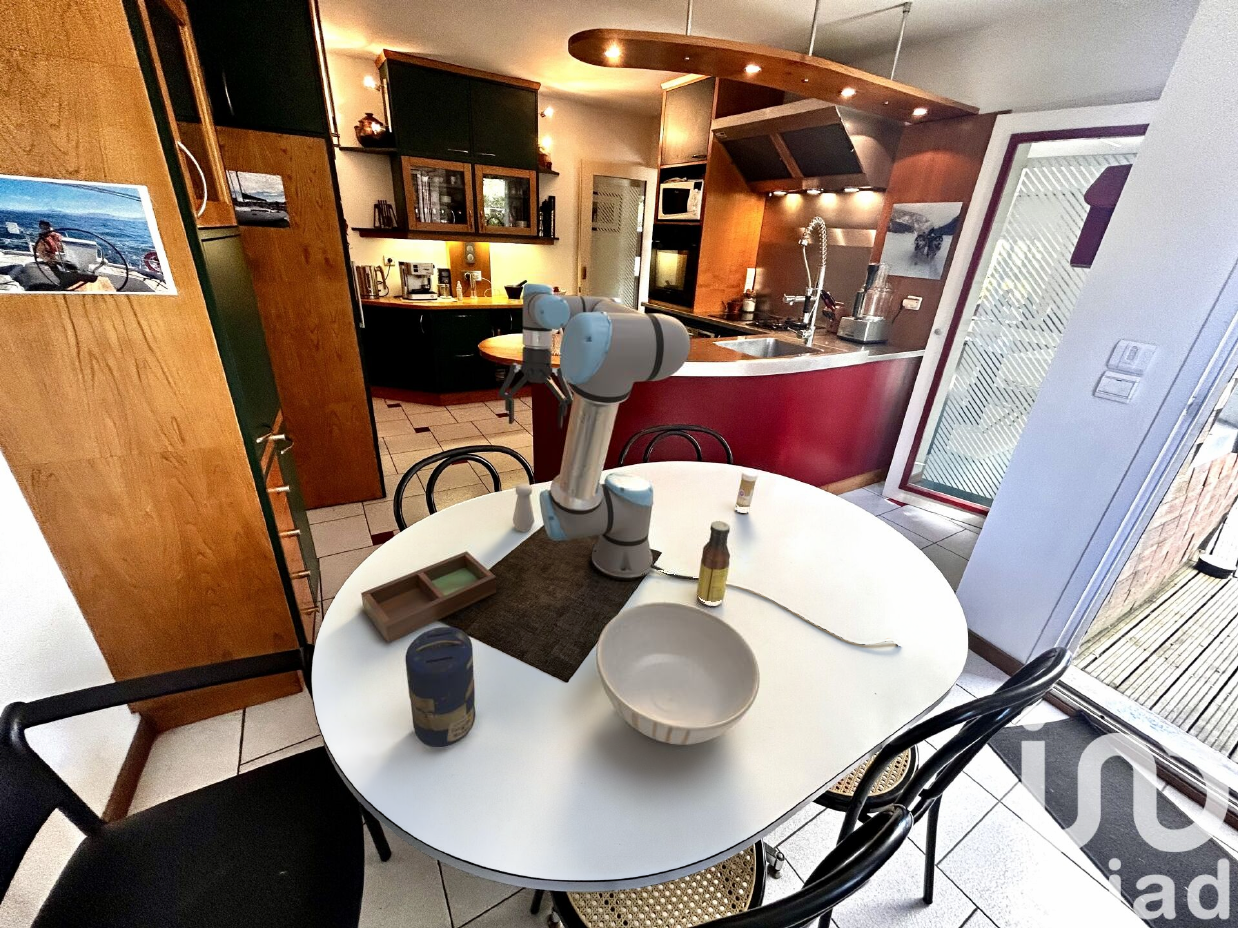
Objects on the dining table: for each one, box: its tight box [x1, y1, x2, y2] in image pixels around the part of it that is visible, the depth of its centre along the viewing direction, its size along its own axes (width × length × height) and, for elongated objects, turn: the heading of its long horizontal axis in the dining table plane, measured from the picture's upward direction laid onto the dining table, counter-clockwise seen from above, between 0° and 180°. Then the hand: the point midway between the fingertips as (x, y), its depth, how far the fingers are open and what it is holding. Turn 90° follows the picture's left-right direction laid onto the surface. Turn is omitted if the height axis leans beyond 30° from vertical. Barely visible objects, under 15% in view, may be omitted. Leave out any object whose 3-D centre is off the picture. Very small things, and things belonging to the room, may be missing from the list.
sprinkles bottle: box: [735, 469, 758, 508], centre depth 150 cm, size 5×5×14 cm
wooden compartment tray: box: [360, 550, 497, 644], centre depth 104 cm, size 12×24×4 cm, turn 135°
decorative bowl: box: [595, 601, 761, 746], centre depth 83 cm, size 27×27×12 cm
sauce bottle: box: [696, 520, 731, 604], centre depth 109 cm, size 7×6×20 cm
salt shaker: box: [512, 482, 535, 533], centre depth 131 cm, size 6×6×13 cm
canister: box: [405, 626, 477, 749], centre depth 76 cm, size 10×10×18 cm
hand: (535, 425), depth 135 cm, fingers open, 13 cm apart
